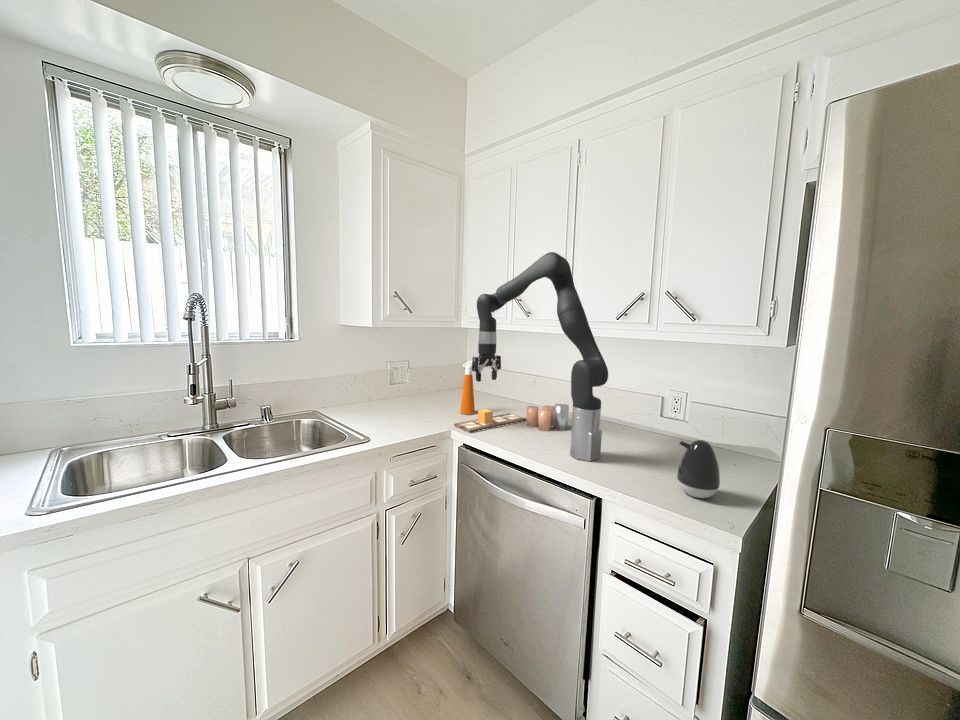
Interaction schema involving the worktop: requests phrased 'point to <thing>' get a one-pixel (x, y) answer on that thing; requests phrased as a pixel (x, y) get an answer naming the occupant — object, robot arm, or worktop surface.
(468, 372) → the spray bottle
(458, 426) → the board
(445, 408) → the worktop surface
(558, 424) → the grey tin
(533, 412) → the tan cylinder
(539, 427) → the tan cylinder
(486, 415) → the block
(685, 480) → the pump dispenser
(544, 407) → the tan cylinder
